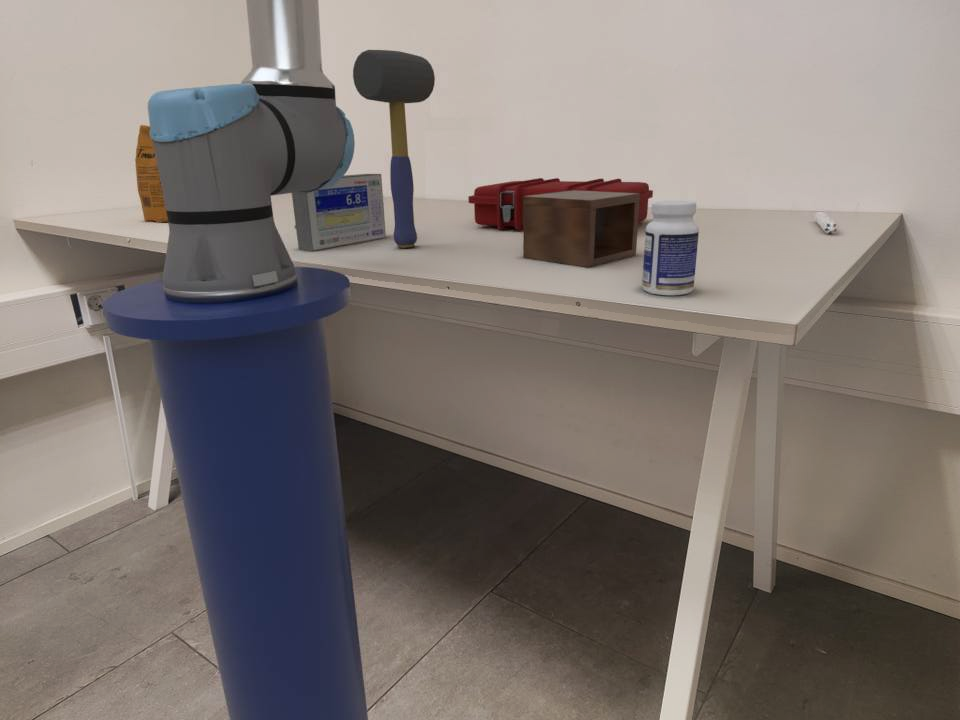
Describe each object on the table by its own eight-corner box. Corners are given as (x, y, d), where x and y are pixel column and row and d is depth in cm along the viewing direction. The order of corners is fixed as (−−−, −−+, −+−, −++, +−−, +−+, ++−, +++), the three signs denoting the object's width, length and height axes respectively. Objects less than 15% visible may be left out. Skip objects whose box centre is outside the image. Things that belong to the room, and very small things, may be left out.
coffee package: (172, 216, 159) (155, 125, 152) (205, 218, 153) (189, 123, 146) (136, 221, 151) (117, 124, 143) (170, 223, 145) (151, 123, 138)
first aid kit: (465, 229, 124) (463, 184, 121) (513, 216, 143) (513, 177, 140) (622, 237, 109) (625, 187, 107) (653, 221, 129) (656, 178, 126)
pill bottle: (702, 290, 71) (711, 201, 68) (677, 299, 67) (685, 205, 64) (658, 283, 75) (664, 198, 72) (631, 291, 71) (637, 202, 68)
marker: (837, 236, 105) (840, 222, 104) (824, 235, 106) (826, 221, 105) (825, 222, 121) (827, 210, 120) (813, 222, 122) (815, 210, 121)
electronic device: (313, 251, 103) (298, 123, 96) (288, 248, 107) (272, 124, 100) (388, 237, 116) (379, 123, 109) (363, 235, 120) (353, 124, 113)
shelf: (523, 257, 93) (523, 196, 90) (572, 247, 101) (573, 190, 98) (588, 267, 85) (591, 200, 82) (636, 255, 93) (640, 193, 90)
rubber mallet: (397, 255, 98) (383, 43, 88) (363, 251, 102) (346, 49, 92) (446, 243, 107) (437, 52, 97) (413, 240, 111) (401, 56, 101)
